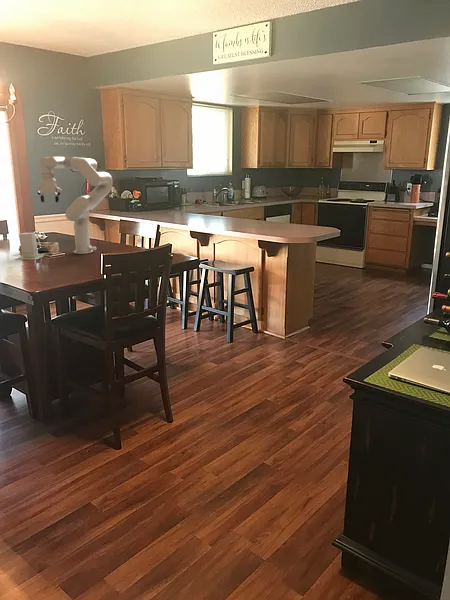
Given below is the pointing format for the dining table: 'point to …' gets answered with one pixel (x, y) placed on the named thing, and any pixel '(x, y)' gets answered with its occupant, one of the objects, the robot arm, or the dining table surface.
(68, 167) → the robot arm
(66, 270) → the dining table surface
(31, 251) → the skincare box
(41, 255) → the mat
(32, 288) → the dining table surface
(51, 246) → the open wooden frame
